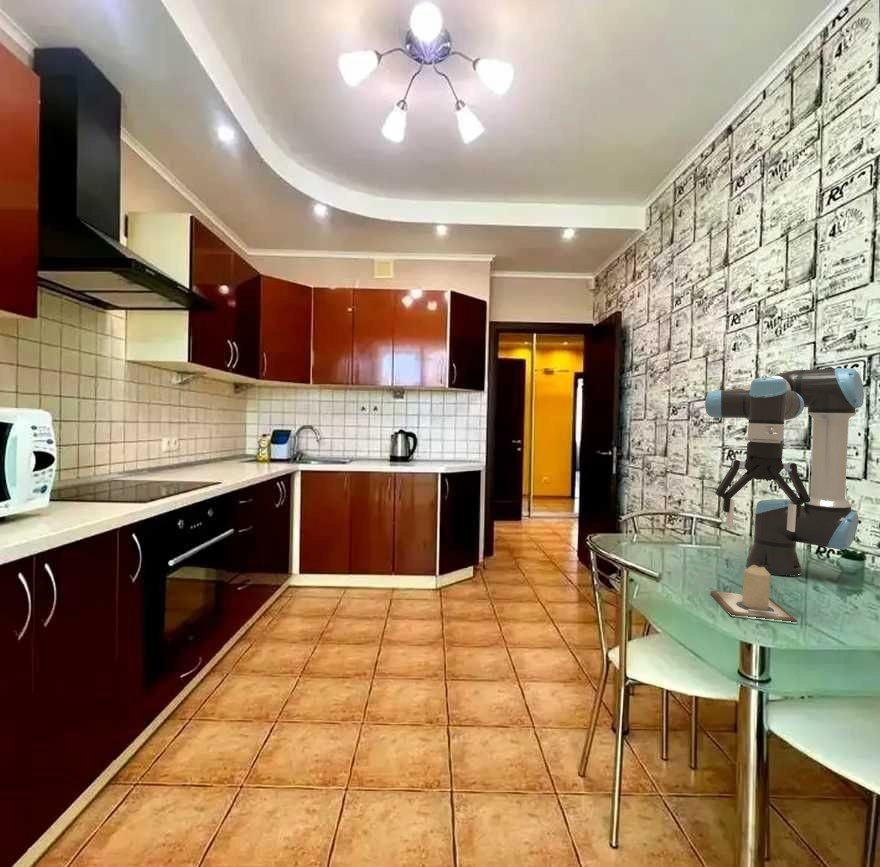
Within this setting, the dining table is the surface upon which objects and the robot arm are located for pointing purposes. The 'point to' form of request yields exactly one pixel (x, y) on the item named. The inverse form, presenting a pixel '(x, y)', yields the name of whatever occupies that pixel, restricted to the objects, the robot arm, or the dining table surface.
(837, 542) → the robot arm
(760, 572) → the candle
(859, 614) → the dining table surface
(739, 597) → the brown tray
